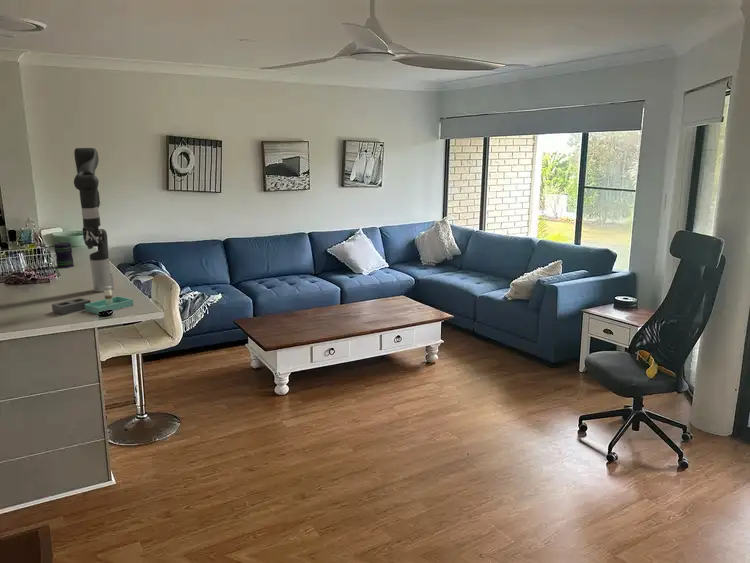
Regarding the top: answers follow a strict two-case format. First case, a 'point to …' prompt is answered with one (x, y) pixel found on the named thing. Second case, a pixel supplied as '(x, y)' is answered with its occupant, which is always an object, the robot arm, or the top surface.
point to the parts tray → (101, 305)
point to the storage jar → (64, 255)
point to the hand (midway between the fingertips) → (95, 249)
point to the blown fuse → (108, 295)
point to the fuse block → (70, 306)
